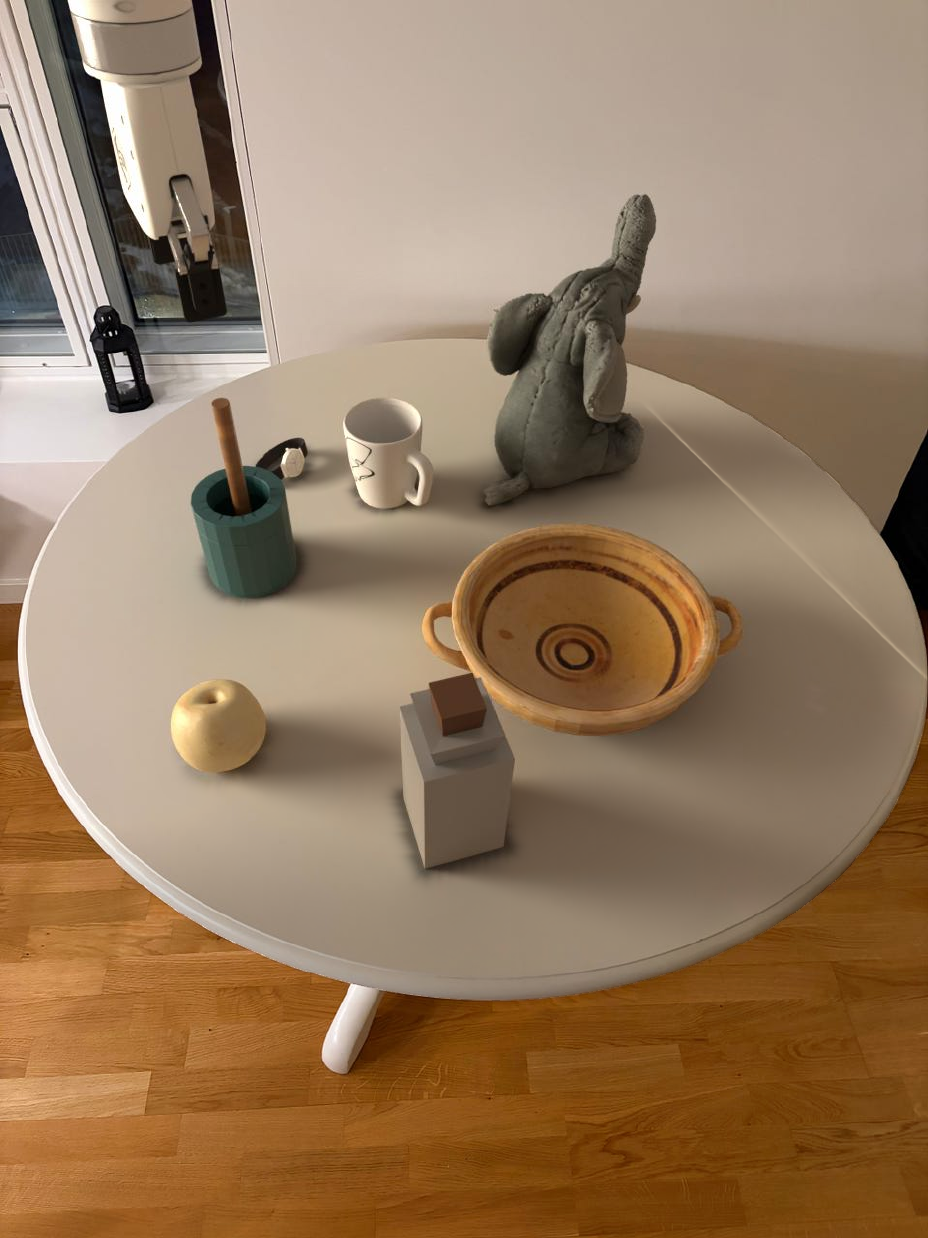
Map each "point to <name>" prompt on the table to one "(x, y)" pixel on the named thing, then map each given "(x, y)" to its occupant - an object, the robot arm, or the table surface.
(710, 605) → the ceramic bowl
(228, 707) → the apple
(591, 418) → the stuffed elephant
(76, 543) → the table surface
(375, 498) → the mug
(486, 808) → the perfume bottle
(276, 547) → the teal hollow cylinder
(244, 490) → the brush
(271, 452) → the watch
